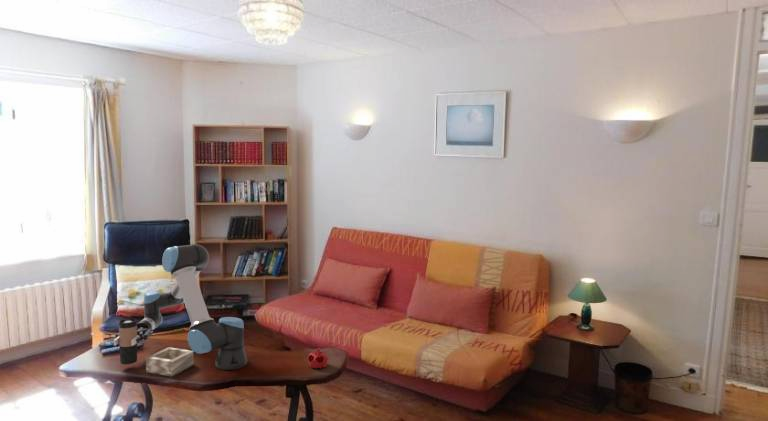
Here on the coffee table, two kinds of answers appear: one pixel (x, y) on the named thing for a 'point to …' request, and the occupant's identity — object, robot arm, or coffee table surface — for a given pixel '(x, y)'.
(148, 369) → the well
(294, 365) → the coffee table surface
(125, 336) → the travel mug
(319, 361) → the pomegranate
